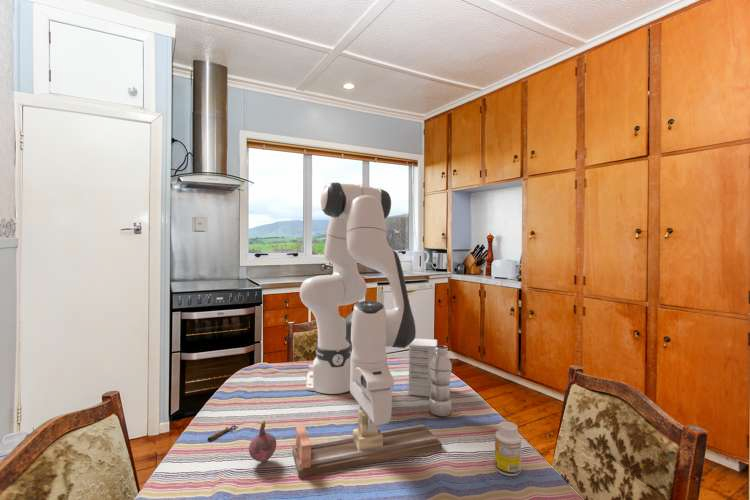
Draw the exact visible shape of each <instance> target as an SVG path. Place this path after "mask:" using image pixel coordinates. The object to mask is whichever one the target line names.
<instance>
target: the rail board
mask: <svg viewBox="0 0 750 500" xmlns="http://www.w3.org/2000/svg"><path fill="white" fill-rule="evenodd" d="M380 432H381V433H382V435H383V446H381V447H376V448H370V449H365V450H359V451H358V449H357V448H356V446H355V444H354V442H353V435H352V436H348V437H342V438H335V439H329V440H323V441H316V442H311V441H310V437H309V436H308V433H307V429H306V427H305V425H299V426H296V427H295V446H292V457H293V461H294V464H295V468H296V473H297V476H298V479H300V478H303V477H309V476H315V475H320V474H325V473H329V472H334V471H335V472H336V471H339V470H344V469H349V468H355V467H360V466H365V465H370V464H376V463H381V462H384V461H391V460H395V459H396V460H397V459H400V458H406V457H410V456H415V455H420V454H427V453H431V452H435V451H441V450H443V443H442V442H441V441H440V440H439V438H438V436H436V435H434V434H433V433H432V431H430V430H429V429H428V428H427V426H426V425H425V424H423V423H422V424H418V425H417V424H416V425H412V426H407V427H399V428H394V429H388V430H382V431H381V430H380Z"/></svg>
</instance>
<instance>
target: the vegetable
mask: <svg viewBox="0 0 750 500" xmlns="http://www.w3.org/2000/svg"><path fill="white" fill-rule="evenodd" d="M265 428H266V420H263V422H262V423H261V425H260V427H259V433H258V434H257V435H256V436H254V438H252V440H251V441H250V443H249V446H248V453H249V456H250V457H251V458H252V460H254V461H256V462H260V464H264V463H266V462H268V461H269V460H270V458H272V456H273V455H274V453H275V452H276V449H277V439H276V438H275V436H274V435H273V434H271V433H270V432H266V431H265Z"/></svg>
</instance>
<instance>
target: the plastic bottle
mask: <svg viewBox="0 0 750 500" xmlns="http://www.w3.org/2000/svg"><path fill="white" fill-rule="evenodd" d="M434 353H435V355H434V356H433V358H432V359H431V361H430V363H429V367H430V375H431V393H430V397H429V398H428V399H429V401H428V409H429V411H430V413H431V414H432V415H433V416H436V417H437V416H438V417H446V416H449V414H450V413H451V412H452V400H451V390H450V383H451V375H452V368H453V367H452V366H453V364H452V362H451V360H450V358H449V357H448V353H449V352H448V347H447V346H446V345H437V346H435V351H434Z"/></svg>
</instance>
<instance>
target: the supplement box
mask: <svg viewBox="0 0 750 500" xmlns="http://www.w3.org/2000/svg"><path fill="white" fill-rule="evenodd" d="M435 346H438V339H430V338H415V339H414V340H413V341H412V342H411V343H410V344H409V345H408V347H409V349H408V351H409V352H408V353H409V354H408V395H409V396H417V397H418V396H419V397H428V398H430V393H431V375H430V367H429V363H430V361H431V359H432V358H433V356H434V355H435V353H434V351H435Z"/></svg>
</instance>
